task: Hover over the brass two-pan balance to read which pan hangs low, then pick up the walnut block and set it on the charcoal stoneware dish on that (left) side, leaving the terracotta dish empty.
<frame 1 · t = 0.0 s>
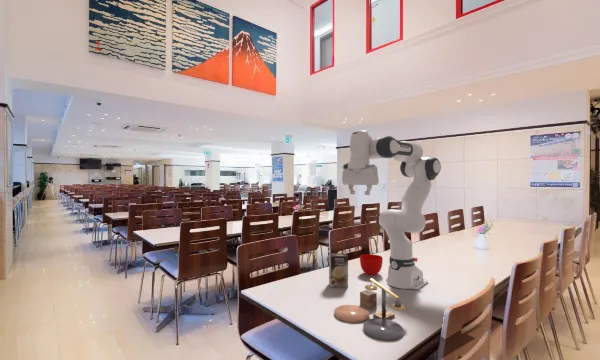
hand: (359, 194, 142), 48 cm above the table, fingers open, 8 cm apart
charcoal dish: (382, 330, 111), on the table
coffee box: (338, 285, 159), on the table
balance: (383, 317, 122), on the table
terracotta dish: (351, 314, 124), on the table
walnut block: (368, 306, 133), on the table
ceramic cup: (370, 273, 180), on the table
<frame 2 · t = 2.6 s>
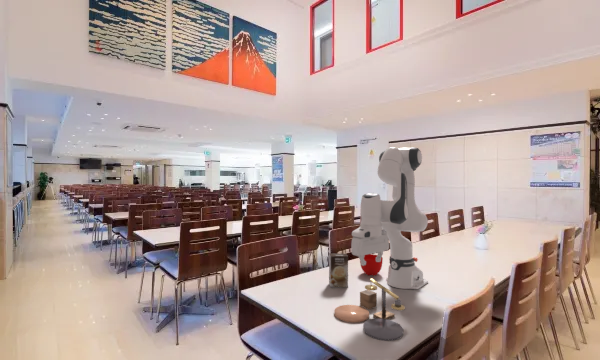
hand: (371, 263, 131), 19 cm above the table, fingers open, 8 cm apart
nothing on the table moved.
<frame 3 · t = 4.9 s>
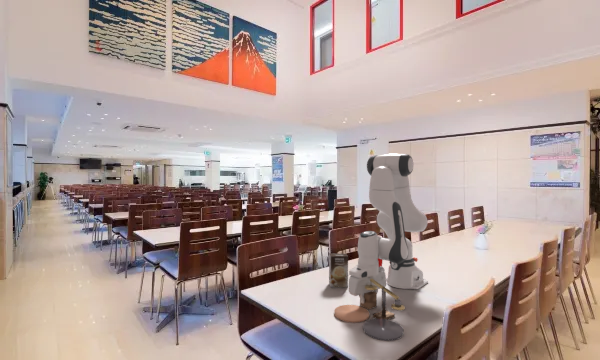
hand: (368, 301, 133), 2 cm above the table, fingers closed on walnut block, 5 cm apart
walnut block: (368, 306, 133), on the table, touching gripper
everything else where it was.
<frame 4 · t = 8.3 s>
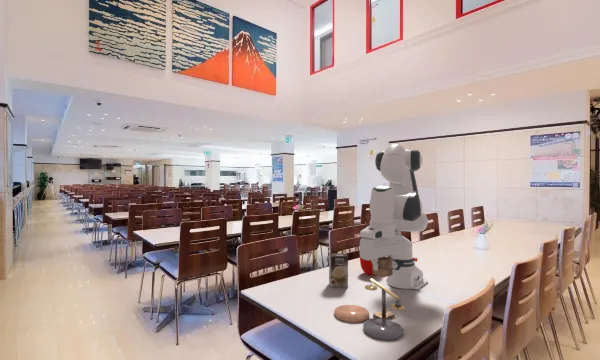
hand: (382, 268, 111), 23 cm above the table, fingers closed on walnut block, 5 cm apart
walnut block: (382, 274, 111), point 20 cm above the table, touching gripper
everything else where it was.
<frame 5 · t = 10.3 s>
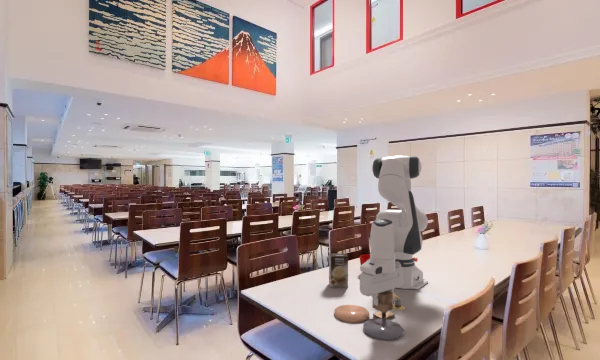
hand: (382, 302, 111), 10 cm above the table, fingers closed on walnut block, 5 cm apart
walnut block: (382, 308, 111), point 8 cm above the table, touching gripper
everything else where it was.
when the fingers open (5 cm above the table, at t = 11.9 s): walnut block drops 1 cm, resting on charcoal dish.
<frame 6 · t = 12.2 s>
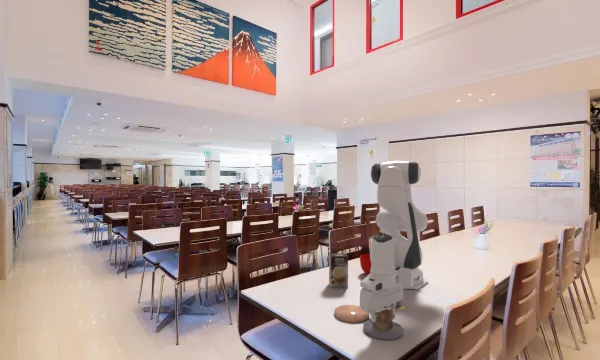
hand: (382, 317, 111), 5 cm above the table, fingers open, 8 cm apart
walnut block: (382, 327, 111), point 1 cm above the table, touching charcoal dish
everything else where it was.
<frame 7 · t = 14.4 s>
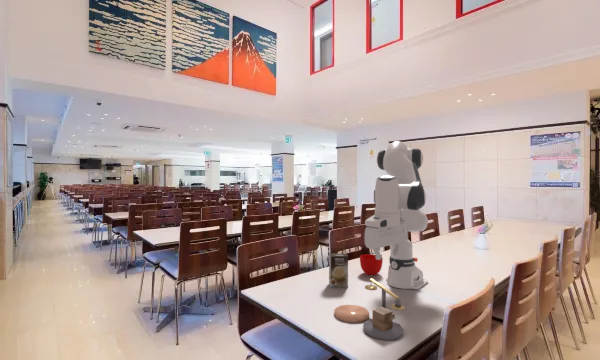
hand: (387, 257, 112), 26 cm above the table, fingers open, 8 cm apart
nothing on the table moved.
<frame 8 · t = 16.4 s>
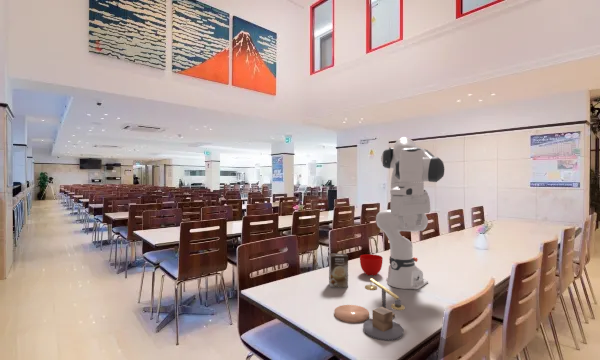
hand: (411, 226, 116), 37 cm above the table, fingers open, 8 cm apart
nothing on the table moved.
at the end: walnut block inside the target area on the charcoal dish (0.2 cm from its centre), point 1.2 cm above the charcoal dish's base; walnut block tilted 0°; the gripper is holding nothing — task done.
